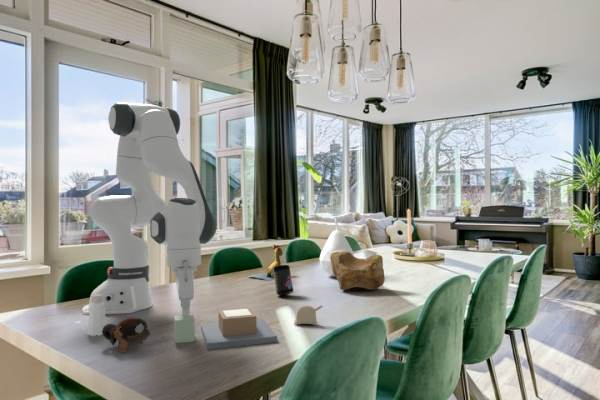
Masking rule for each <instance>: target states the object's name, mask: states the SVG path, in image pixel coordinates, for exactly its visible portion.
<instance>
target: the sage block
mask: <svg viewBox="0 0 600 400" xmlns="http://www.w3.org/2000/svg"><path fill="white" fill-rule="evenodd" d="M173 317H174V318H173V319H174V321H173V322H174V323H173V324H174V325H173V327H174V334H173V335H174V344H179V343H180V344H181V343H190V342H195V341H196V336H195V334H196V333H195V331H196V330H195V329H196V328H195V325H196V324H195V322H196V321H195V320H196V319H195V315H194V313H193V314H191V313H190V314H189V315H183V314H181V315H174V316H173Z"/></svg>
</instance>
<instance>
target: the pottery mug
mask: <svg viewBox="0 0 600 400" xmlns="http://www.w3.org/2000/svg"><path fill="white" fill-rule="evenodd" d="M106 324H107V323H106ZM140 325H142V326H143V330H142V331H141V332H138V331H136V329H137V326H140ZM102 334H103V335H102V336H103V337H104V338H105V339H106V340H107V341H109V342H110V344H111V345H112V346H114V345H116V344H117V341H118V345H119V347H118V352H119V353H123V354H125V353H126V352H127V350H130V349H133V348H134V347H137V346H139V345H141V344H143V343H144V341H146V340H147V339H148V337H149V336H151V333H150V330H149V329H148V324H147V322H146V321H145V320H144V319H142V318H140V317H133V316H132V317H127V318H123V319H121V320H120V321H119V322H118V323H116V324H114V323H108V324H107V325H105V326H104V328H103V330H102Z"/></svg>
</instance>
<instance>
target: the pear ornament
mask: <svg viewBox="0 0 600 400" xmlns="http://www.w3.org/2000/svg"><path fill="white" fill-rule="evenodd" d="M334 223H335V230H333V231H331V233H330V234H329V236H328V238H327V240H326V241H325V244H324V246H323V248H322V250H321V251H320V255H319V258H318V259H319V263H320V266H321V269H322V271H324V272H325V273H326V274H328V275H330V276H331V277H336V276H335V275H334V274H333V270H332V266H331V259H330V257H331V254H332V253H334V252H344V251H347V252H350V253H351V254H352V255H353V256H354V257H355V255H354V252H353V251H354V250H353V249H352V247H351V245H350V243H349V242H348V240H347V238H346V236H345V234H344V233H343V232H342V231H341V230H343V231H345V232H347V231H348V228H347V226H343V225H340V224H338V221H337V219H336V218H335V219H334ZM339 229H341V230H339ZM336 278H337V277H336Z"/></svg>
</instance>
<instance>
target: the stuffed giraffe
mask: <svg viewBox="0 0 600 400" xmlns="http://www.w3.org/2000/svg"><path fill="white" fill-rule="evenodd" d="M272 250H274V262H272V263H271V264H270V265H269V267H268V268H267V269H266V270H264V273H259V274H258V273H257V274H252V275H248V276H246V277H247V278H254V279H255V278H256V279H260V280H261V279H262V280H264V281H268V282H273V281H275V280H274V273H273V268H274V267H276V266H281V265H282V263H281V259H280V257H281V256H283V254H284V253H283V249H282V248H281V247H280V246H279V245H278V244H277V245H276V244H273V246H272Z"/></svg>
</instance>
